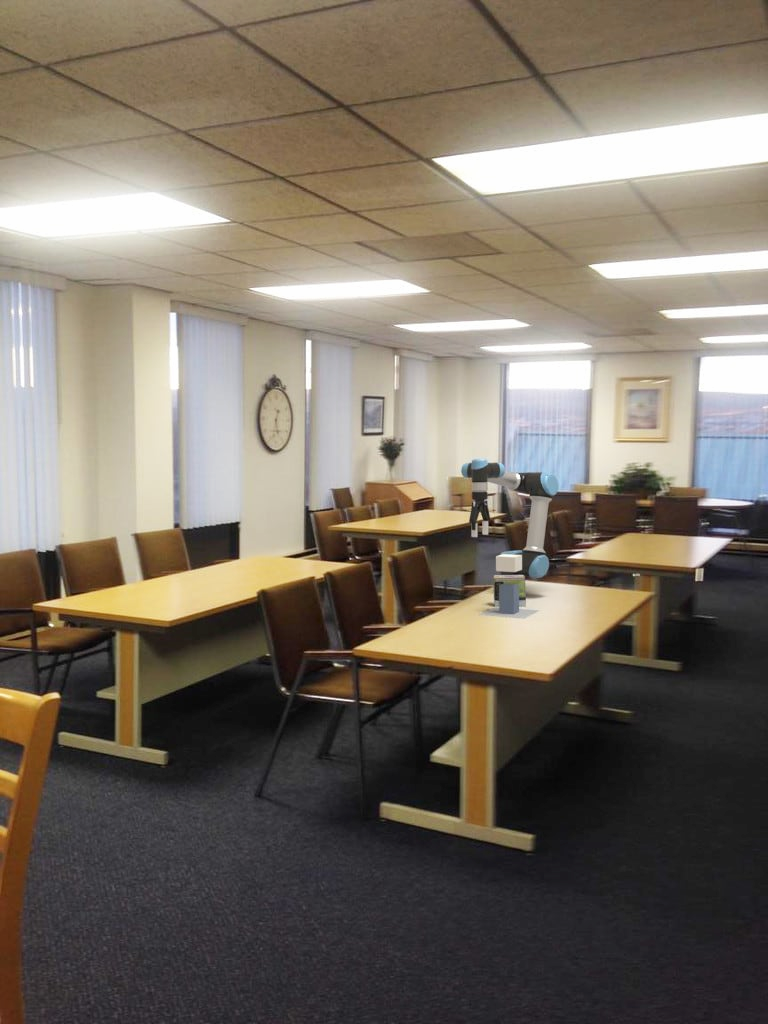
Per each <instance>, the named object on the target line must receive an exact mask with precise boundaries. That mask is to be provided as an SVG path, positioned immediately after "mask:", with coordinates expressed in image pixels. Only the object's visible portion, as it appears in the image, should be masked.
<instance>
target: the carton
mask: <svg viewBox="0 0 768 1024" xmlns="http://www.w3.org/2000/svg"><path fill="white" fill-rule="evenodd" d="M519 609H520V607H519V584H510V583H504V584H501V585H499V613H502V614H516V613H518V612H519Z"/></svg>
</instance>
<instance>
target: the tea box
mask: <svg viewBox="0 0 768 1024" xmlns="http://www.w3.org/2000/svg"><path fill="white" fill-rule="evenodd" d="M504 583H510V584H519V608H527V607H526V606H527V604H526V603H527V601H526V599H527V598H526V597H527V589H526V577H525V576H524V575H500V574H499V575H498V574H497V575H495V574H494V575H493V604H494V608H495V607H499V585H501V584H504ZM525 589H526V590H525Z"/></svg>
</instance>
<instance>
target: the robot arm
mask: <svg viewBox="0 0 768 1024" xmlns="http://www.w3.org/2000/svg"><path fill="white" fill-rule="evenodd" d="M460 471H461V476H462V477H464V478H465V479H471V484H470V486H471V491H472V492H471V499H472V500H474V501H472V502H471V508H470V514H469V520H468V523H469V524H470V525H471V527H470V528H471V530H470V531H471V534H470V535H471V538H478V522H477V521H478V519H479V516H480V515H481V517H482V521H481V523H482V525H481V526H482V529H481V530H482V532H481V533H482V535H486V536H488V535H489V522H490V521H491V515H490V512H489V511H490V510H489V505H488V500H489V499H488V496H489V495H488V493H489V492H488V489H489V487H488V483H489V484H490V483H491V484H495V485H499V486H503V487H505V488H507V490H510V491H513V492H515V493H516V492H517V493H520V494H524V495H529V496H528V497H529V499H530V500H531V504H530V512H529V513H530V514H529V521H528V528H527V530H528V531H527V536H526V537H527V539H526V545H525V547H524V548H523V549H522V550H508V551H502V552H501V553H500V554H499V555H502V554H510V555H522V570H520V571H517V572H503V571H499V575H524V577H525V578H526V577H527V578H533V579H534V578H535V579H537V578H538V579H539V578H542V577H544V576H545V575H546V574H547V572H548V570H549V567H550V561H549V557H548V556H547V555H546V551H545V550H544V545H545V536H546V528H547V527H546V526H547V521H548V519H547V518H548V511H549V510H548V509H549V503H550V502H551V501H552V500H553V497H554V496H556V495H557V493H558V491H559V481H558V479H557V477H556V475H555V474H554V473H552V472H547V471H543V472H540V471H539V472H531V471H529V472H518V471H512V472H509V471H506V467H505V465H504V464H503V463H501V462H488V459H487V458H473V459H472V460H471V462H466V463H464V464H463V465H462V466H461V470H460ZM525 590H526V591H527V589H526V588H525Z"/></svg>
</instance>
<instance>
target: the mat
mask: <svg viewBox="0 0 768 1024" xmlns="http://www.w3.org/2000/svg"><path fill="white" fill-rule="evenodd" d="M540 611H541V610H540V609H539V610H537V609H529V608H528V609H526V608H525V609H524V608H519V612H518V613H516V614H502V613H499V607H495V606H494V607H492V608H491V609H488V610H486V611H483V612H481V613H479V614H478V616H485V617H486V616H487V617H499V618H511V619H526V618H528V617H530V616H533V615H534V614H537V613H538V612H540Z"/></svg>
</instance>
